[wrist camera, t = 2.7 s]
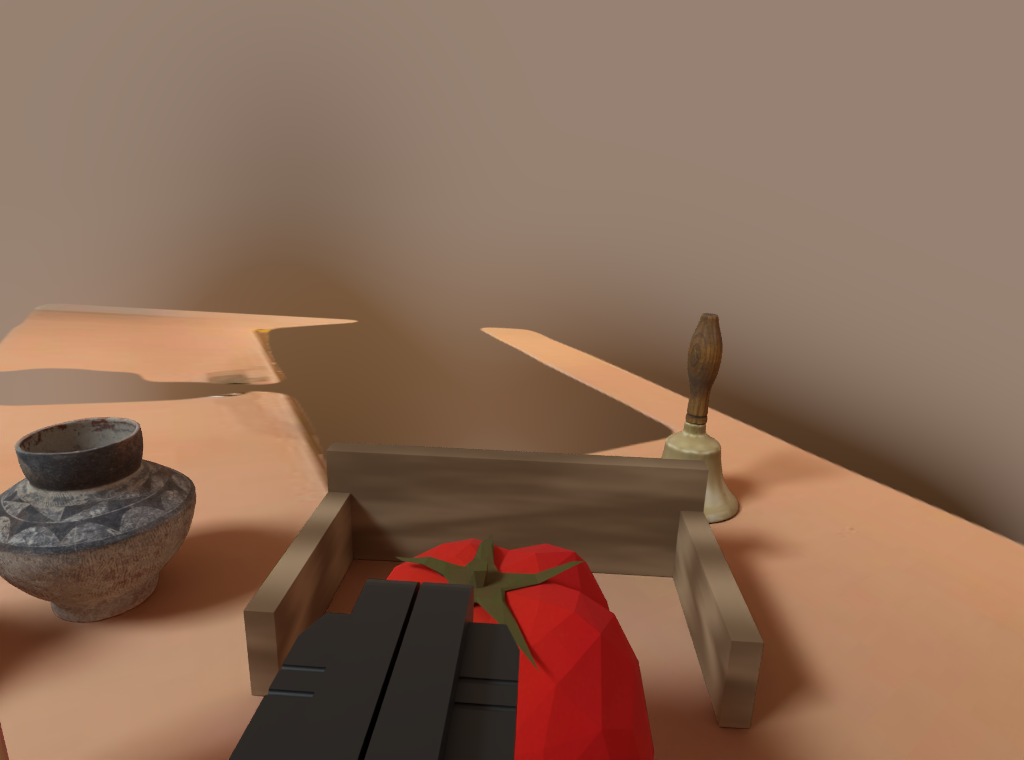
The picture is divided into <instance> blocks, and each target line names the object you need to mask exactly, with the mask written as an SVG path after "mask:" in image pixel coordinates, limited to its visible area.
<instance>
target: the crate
mask: <svg viewBox="0 0 1024 760" xmlns="http://www.w3.org/2000/svg"><path fill="white" fill-rule="evenodd" d="M326 454H327V474H328V493H327V495H326V496H325V497H324V499H323V500H322V502H321V503H320V504H319V506H318V507H317V509H316V510H315V511H314V513H313V514H312V516H311V517H310V518H309V520H308V521H307V523H306V524H305V525H304V527H303V528H302V530H301V531H300V532H299V534H298V535H297V537H296V538H295V539H294V541H293V542H292V544H291V545H290V546H289V548H288V549H287V551H286V552H285V553H284V555H283V556H282V558H281V559H280V560H279V562H278V563H277V565H276V566H275V567H274V569H273V570H272V572H271V573H270V574H269V576H268V577H267V579H266V580H265V581H264V583H263V584H262V586H261V587H260V588H259V590H258V591H257V593H256V594H255V595H254V597H253V598H252V600H251V601H250V602H249V604H248V605H247V607H246V608H245V609H244V620H245V631H246V641H247V651H248V661H249V671H250V681H251V691H252V695H260V696H265V695H268V691H269V687H270V685H271V684H272V682H273V680H274V678H275V676H276V675H277V673H278V671H279V670H281V669H282V664H283V662H284V660H285V659H286V657H287V655H288V653H289V651H290V650H291V648H292V646H293V644H294V643H295V641H296V639H297V637H298V635H300V634H301V633H302V632H303V631H305V630H306V629H307V628H308V627H309V626H311V625H312V624H313V623H314V622H316V621H317V620H318V619H319V618H321V617H322V616H323V615H324V613H325V611H326V610H327V608H328V606H329V604H330V602H331V600H332V598H333V596H334V594H335V592H336V590H337V589H338V587H339V585H340V583H341V581H342V579H343V577H344V575H345V573H346V571H347V569H348V567H349V566H350V564H351V562H352V560H353V559H371V560H388V561H402V560H400V559H398V558H396V557H403V558H414V557H416V556H418V555H420V554H422V553H424V552H426V551H428V550H431V549H433V548H435V547H437V546H439V545H441V544H444V543H450V542H455V541H461V540H467V539H473V538H475V539H478V540H481V541H484V540H486V539H487V538H489V536H490V535H491V534H492V537H493V542H494V545H496V546H499V547H502V548H505V549H508V550H513V549H518V548H524V547H529V546H535V545H540V544H550V545H553V546H557V547H560V548H564V549H567V550H571V551H575V552H576V553H577V554H578V555H579V556H580V557H581V558H582V559H583V560H584V561H586V562H587V564H588V566H589V568H590V570H591V572H596V573H613V574H631V575H648V576H665V577H673V579H674V582H675V586H676V589H677V592H678V595H679V598H680V602H681V605H682V608H683V611H684V615H685V618H686V621H687V624H688V628H689V631H690V634H691V637H692V641H693V644H694V647H695V650H696V654H697V657H698V660H699V663H700V666H701V670H702V673H703V676H704V679H705V683H706V686H707V689H708V692H709V696H710V699H711V702H712V705H713V709H714V712H715V715H716V718H717V722H718V725H719V726H720V727H735V728H750V724H751V718H752V712H753V706H754V700H755V694H756V688H757V682H758V676H759V670H760V664H761V658H762V652H763V645H764V642H763V640H762V637H761V635H760V633H759V631H758V629H757V627H756V624H755V622H754V620H753V618H752V616H751V614H750V611H749V609H748V607H747V605H746V603H745V601H744V599H743V596H742V594H741V592H740V590H739V588H738V586H737V583H736V581H735V579H734V577H733V575H732V573H731V570H730V568H729V566H728V564H727V562H726V560H725V557H724V555H723V553H722V551H721V549H720V547H719V544H718V542H717V540H716V538H715V536H714V534H713V531H712V529H711V527H710V525H709V523H708V521H707V518H706V516H705V514H704V504H705V496H706V488H707V480H708V472H709V470H708V468H707V466H706V464H705V462H704V461H702V460H682V459H662V458H642V457H622V456H602V455H580V454H562V453H542V452H540V453H539V452H522V451H521V452H520V451H502V450H482V449H461V448H442V447H422V446H402V445H381V444H361V443H342V442H340V443H339V442H333V443H332V444H331V445H330V447H329V448H328V449H327V450H326Z"/></svg>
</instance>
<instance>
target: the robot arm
mask: <svg viewBox="0 0 1024 760" xmlns="http://www.w3.org/2000/svg"><path fill="white" fill-rule="evenodd" d="M473 614H474V587H473V585H463V584H448V583H432V582H423V583H422V584H420V582H414V581H399V580H383V579H368V580H367V581H366V583H365V585H364V587H363V589H362V591H361V594H360V596H359V598H358V600H357V602H356V604H355V606H354V609H353V611H352V613H351V614H340V613H325V614H324V615H323V616H322V617H321V618H319V619H318V620H317V621H316V622H314V623H313V624H312V625H311V626H309V627H308V628H307V629H306V630H305V631H303V632H302V633H301V634H300V635H298V637H297V639H296V641H295V643H294V644H293V646H292V648H291V650H290V651H289V653H288V655H287V657H286V659H285V660H284V662H283V664H282V669H281V670H279V671H278V673H277V675H276V676H275V678H274V680H273V682H272V684H271V685H270V687H269V691H268V695H265V696H264V698H263V700H262V701H261V703H260V705H259V707H258V708H257V710H256V712H255V714H254V716H253V717H252V719H251V721H250V723H249V725H248V726H247V728H246V730H245V732H244V733H243V735H242V737H241V739H240V741H239V742H238V744H237V746H236V748H235V749H234V751H233V753H232V755H231V757H230V758H229V760H514V757H515V741H516V721H517V701H518V681H519V660H520V650H519V648H518V646H517V644H516V642H515V640H514V638H513V636H512V634H511V632H510V630H509V628H508V626H507V624H492V623H477V622H473Z"/></svg>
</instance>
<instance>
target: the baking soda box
mask: <svg viewBox="0 0 1024 760" xmlns="http://www.w3.org/2000/svg"><path fill="white" fill-rule="evenodd" d="M0 760H9V757H8V753H7V749H6V745H5V740H4V736H3V732H2V728H1V723H0Z"/></svg>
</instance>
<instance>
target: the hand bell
mask: <svg viewBox="0 0 1024 760" xmlns="http://www.w3.org/2000/svg"><path fill="white" fill-rule="evenodd" d="M721 358H722V337H721V332H720V327H719V319H718V315H716V314H709V313H705V314H702V316H701V318H700V321H699V323H698V326H697V328H696V330H695V332H694V334H693V336H692V339H691V342H690V346H689V351H688V375H689V381H690V398H689V403H688V408H687V414H686V421H685V425H684V429H683V431H681V432H678V433H675V434H672V435H670V436H669V437H668V438H667V439H666V442H665V447H664V451H663V455H662V459H682V460H702V461H704V462H705V464H706V466H707V468H708V470H709V472H708V480H707V488H706V496H705V504H704V514H705V516H706V518H707V521H708V523H713V522H719V521H723V520H726V519H729V518H731V517H732V516H734V515H735V514H736V513H737V511H738V502H737V499H736V497H735V496H734V494H733V493H732V492H731V491H730V490H729V489H728V487H727V485H726V483H725V481H724V478H723V474H722V466H721V446H720V444H719V442H718V441H717V440H715V439H714V438H712V437H710V436H709V435H707V434H706V422H707V414H708V403H709V395H710V391H711V387H712V385H713V383H714V381H715V379H716V376H717V374H718V371H719V367H720V363H721Z"/></svg>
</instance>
